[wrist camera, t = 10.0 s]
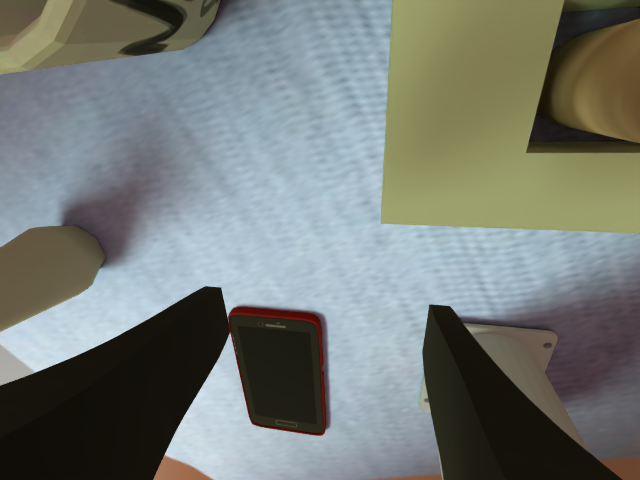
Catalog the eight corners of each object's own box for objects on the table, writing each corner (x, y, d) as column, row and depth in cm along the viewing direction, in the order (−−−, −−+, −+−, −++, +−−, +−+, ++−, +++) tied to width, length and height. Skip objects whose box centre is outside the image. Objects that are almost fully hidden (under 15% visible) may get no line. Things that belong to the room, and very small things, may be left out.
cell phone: (253, 417, 32) (250, 426, 31) (230, 303, 26) (224, 310, 25) (327, 428, 31) (325, 438, 30) (321, 311, 24) (319, 319, 24)
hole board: (734, 214, 16) (803, 239, 13) (381, 204, 19) (381, 223, 17) (950, -150, 10) (1144, -230, 8) (396, -77, 14) (400, -116, 11)
